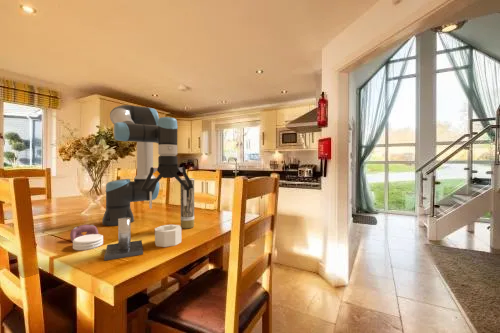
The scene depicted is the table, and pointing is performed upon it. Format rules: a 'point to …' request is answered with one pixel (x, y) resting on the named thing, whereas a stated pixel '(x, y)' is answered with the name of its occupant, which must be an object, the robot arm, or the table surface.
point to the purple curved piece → (84, 228)
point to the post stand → (123, 242)
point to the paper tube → (187, 207)
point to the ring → (167, 235)
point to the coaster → (87, 242)
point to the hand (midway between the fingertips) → (168, 206)
